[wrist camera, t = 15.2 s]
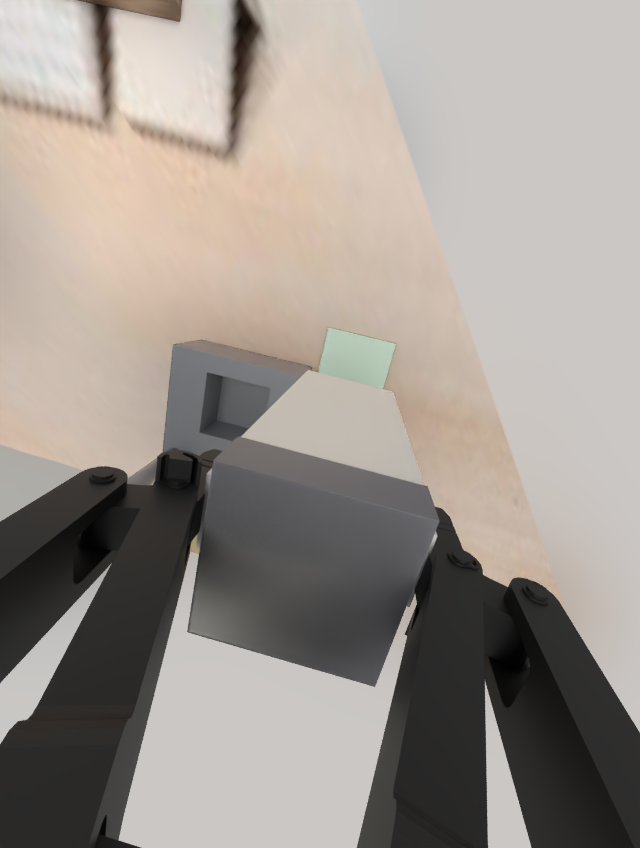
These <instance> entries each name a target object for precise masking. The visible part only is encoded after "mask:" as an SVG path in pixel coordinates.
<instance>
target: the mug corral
mask: <svg viewBox="0 0 640 848" xmlns="http://www.w3.org/2000/svg"><path fill="white" fill-rule="evenodd" d="M80 1H85V2H89V3H94V4H99V5H104V6H108V7H113V8H118V9H123V10H128V11H132V12H137V13H142V14H147V15H152V16H156V17H161V18H166V19H171V20H176V21H180V14H181V1H182V0H80Z"/></svg>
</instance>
